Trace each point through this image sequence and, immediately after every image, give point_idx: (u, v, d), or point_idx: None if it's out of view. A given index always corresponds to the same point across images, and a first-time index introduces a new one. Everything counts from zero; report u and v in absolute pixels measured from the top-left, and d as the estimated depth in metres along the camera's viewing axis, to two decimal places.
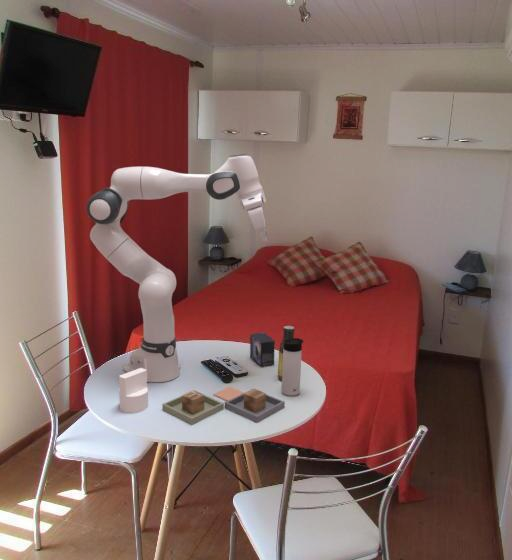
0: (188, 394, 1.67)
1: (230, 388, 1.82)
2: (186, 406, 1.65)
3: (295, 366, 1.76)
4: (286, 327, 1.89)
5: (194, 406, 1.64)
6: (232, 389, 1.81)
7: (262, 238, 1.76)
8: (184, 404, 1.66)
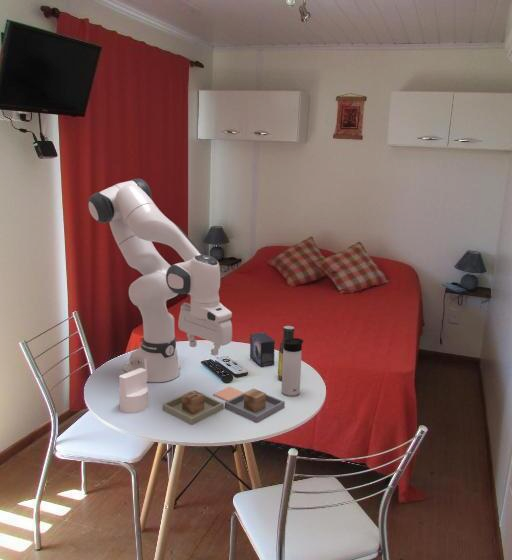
0: (188, 394, 1.67)
1: (230, 388, 1.82)
2: (186, 406, 1.65)
3: (295, 366, 1.76)
4: (286, 327, 1.89)
5: (194, 406, 1.64)
6: (232, 389, 1.81)
7: (215, 352, 1.60)
8: (184, 404, 1.66)
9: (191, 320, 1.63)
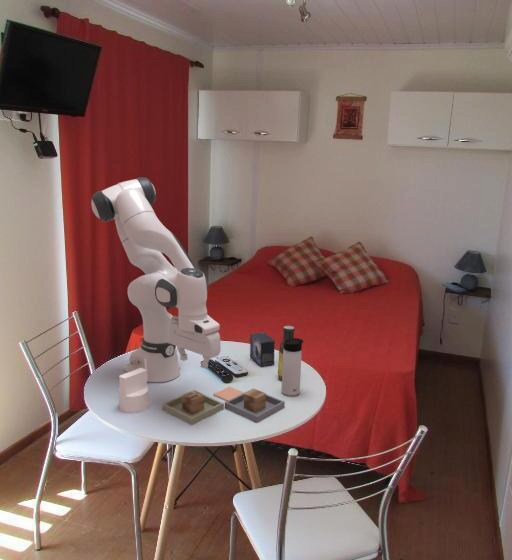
0: (188, 394, 1.67)
1: (230, 388, 1.82)
2: (186, 406, 1.65)
3: (295, 366, 1.76)
4: (286, 327, 1.89)
5: (194, 406, 1.64)
6: (232, 389, 1.81)
7: (204, 364, 1.59)
8: (184, 404, 1.66)
9: (180, 333, 1.63)
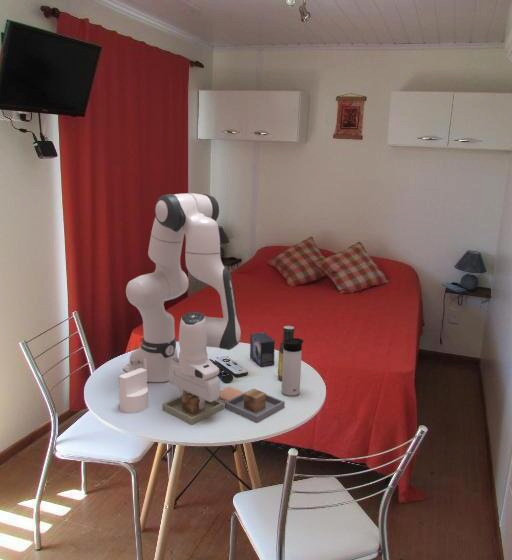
0: (188, 394, 1.67)
1: (230, 388, 1.82)
2: (186, 406, 1.65)
3: (295, 366, 1.76)
4: (286, 327, 1.89)
5: (195, 406, 1.64)
6: (232, 389, 1.81)
7: (200, 405, 1.64)
8: (184, 404, 1.66)
9: (181, 375, 1.66)
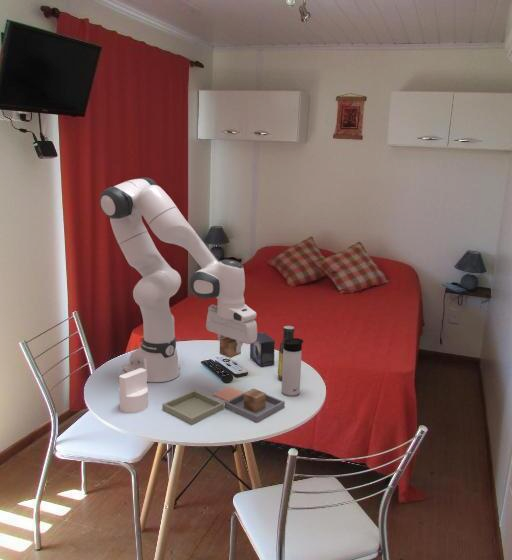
0: (225, 339, 1.73)
1: (230, 388, 1.82)
2: (224, 350, 1.72)
3: (295, 366, 1.76)
4: (286, 327, 1.89)
5: (232, 350, 1.71)
6: (232, 389, 1.81)
7: (238, 349, 1.71)
8: (222, 348, 1.73)
9: (218, 321, 1.73)
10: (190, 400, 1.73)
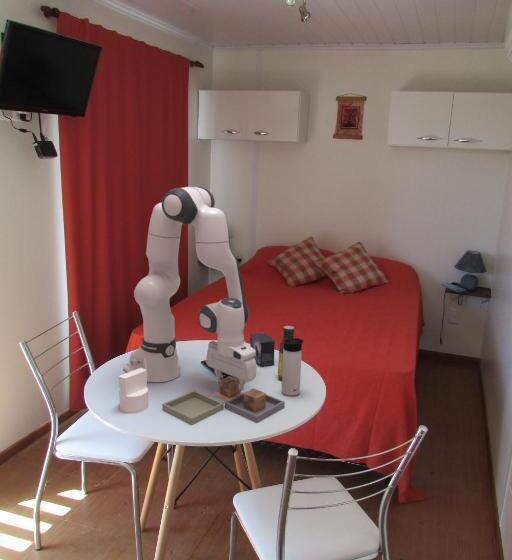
0: (225, 379, 1.77)
1: None
2: (223, 390, 1.76)
3: (295, 366, 1.76)
4: (286, 327, 1.89)
5: (232, 390, 1.75)
6: None
7: (241, 387, 1.73)
8: (222, 388, 1.76)
9: (218, 357, 1.76)
10: (190, 400, 1.73)
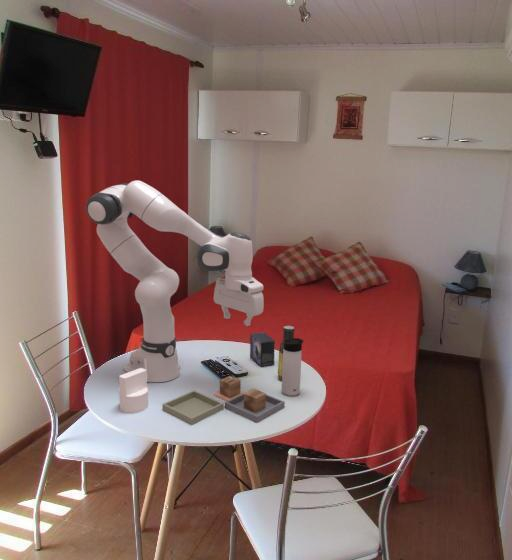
0: (225, 379, 1.77)
1: None
2: (223, 390, 1.76)
3: (295, 366, 1.76)
4: (286, 327, 1.89)
5: (232, 390, 1.75)
6: None
7: (247, 322, 1.72)
8: (222, 388, 1.76)
9: (225, 293, 1.76)
10: (190, 400, 1.73)
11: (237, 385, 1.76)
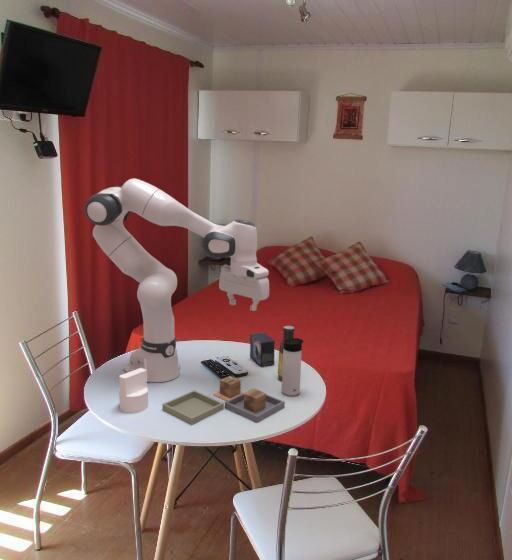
0: (225, 379, 1.77)
1: None
2: (223, 390, 1.76)
3: (295, 366, 1.76)
4: (286, 327, 1.89)
5: (232, 390, 1.75)
6: None
7: (253, 307, 1.76)
8: (222, 388, 1.76)
9: (231, 280, 1.79)
10: (190, 400, 1.73)
11: (237, 385, 1.76)
